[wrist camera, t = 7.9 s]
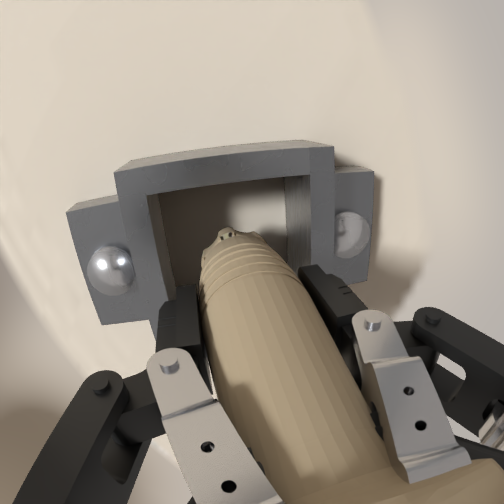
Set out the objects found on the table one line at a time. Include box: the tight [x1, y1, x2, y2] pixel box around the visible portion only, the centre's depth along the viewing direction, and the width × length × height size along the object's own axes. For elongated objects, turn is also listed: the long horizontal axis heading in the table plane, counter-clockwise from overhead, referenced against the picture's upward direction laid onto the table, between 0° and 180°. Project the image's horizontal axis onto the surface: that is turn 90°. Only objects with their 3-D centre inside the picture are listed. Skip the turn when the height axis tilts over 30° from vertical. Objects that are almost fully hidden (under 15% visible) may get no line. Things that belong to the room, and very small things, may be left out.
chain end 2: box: [284, 140, 374, 285], centre depth 16 cm, size 10×12×4 cm
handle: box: [199, 227, 504, 504], centre depth 9 cm, size 5×6×15 cm
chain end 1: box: [66, 141, 310, 340], centre depth 16 cm, size 10×12×4 cm
